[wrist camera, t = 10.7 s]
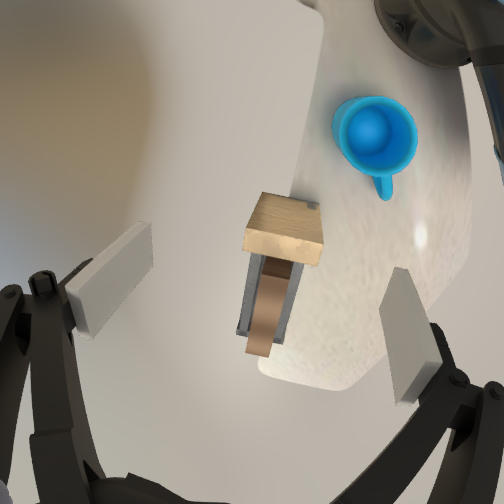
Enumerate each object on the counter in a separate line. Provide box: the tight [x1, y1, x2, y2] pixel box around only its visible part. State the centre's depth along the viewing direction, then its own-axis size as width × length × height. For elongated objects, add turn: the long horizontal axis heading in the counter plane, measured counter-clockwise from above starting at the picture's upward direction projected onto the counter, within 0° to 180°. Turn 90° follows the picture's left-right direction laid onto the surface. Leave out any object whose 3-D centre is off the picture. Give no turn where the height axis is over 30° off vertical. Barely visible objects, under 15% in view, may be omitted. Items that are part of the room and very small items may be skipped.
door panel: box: [245, 256, 291, 358], centre depth 40 cm, size 12×3×10 cm, turn 171°
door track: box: [236, 192, 324, 345], centre depth 40 cm, size 22×7×12 cm, turn 171°
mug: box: [332, 96, 418, 201], centre depth 32 cm, size 12×8×8 cm
